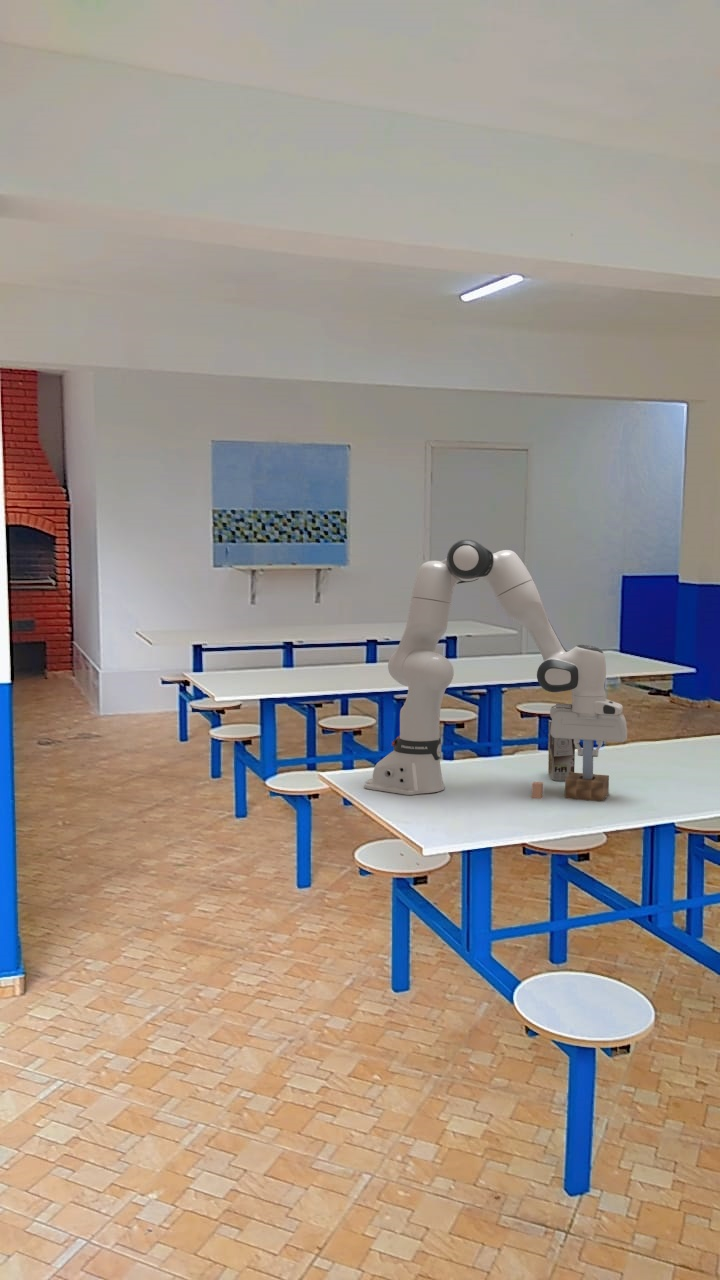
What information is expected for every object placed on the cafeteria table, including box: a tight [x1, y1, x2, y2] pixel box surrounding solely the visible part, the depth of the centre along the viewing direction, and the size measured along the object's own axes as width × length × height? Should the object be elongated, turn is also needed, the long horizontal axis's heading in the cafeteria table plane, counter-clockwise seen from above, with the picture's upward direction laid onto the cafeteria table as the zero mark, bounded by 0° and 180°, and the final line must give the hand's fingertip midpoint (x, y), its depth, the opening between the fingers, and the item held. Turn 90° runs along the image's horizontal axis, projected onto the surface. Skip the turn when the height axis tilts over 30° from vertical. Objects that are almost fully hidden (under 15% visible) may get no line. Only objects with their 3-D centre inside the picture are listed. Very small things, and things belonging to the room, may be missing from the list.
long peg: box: [582, 740, 595, 779], centre depth 272 cm, size 2×2×12 cm
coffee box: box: [547, 721, 576, 782], centre depth 295 cm, size 9×6×16 cm
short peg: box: [531, 781, 544, 800], centre depth 271 cm, size 2×2×4 cm
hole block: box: [564, 772, 610, 803], centre depth 273 cm, size 10×10×5 cm
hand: (588, 756), depth 272 cm, fingers closed on long peg, 2 cm apart
